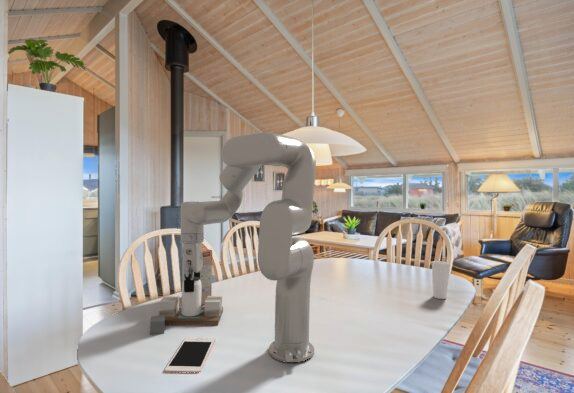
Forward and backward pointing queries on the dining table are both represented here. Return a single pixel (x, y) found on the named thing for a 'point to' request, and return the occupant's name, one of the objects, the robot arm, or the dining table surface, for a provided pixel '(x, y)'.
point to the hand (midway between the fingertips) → (192, 287)
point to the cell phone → (190, 355)
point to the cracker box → (204, 275)
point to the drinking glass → (440, 279)
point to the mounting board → (206, 317)
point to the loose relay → (157, 324)
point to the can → (192, 299)
